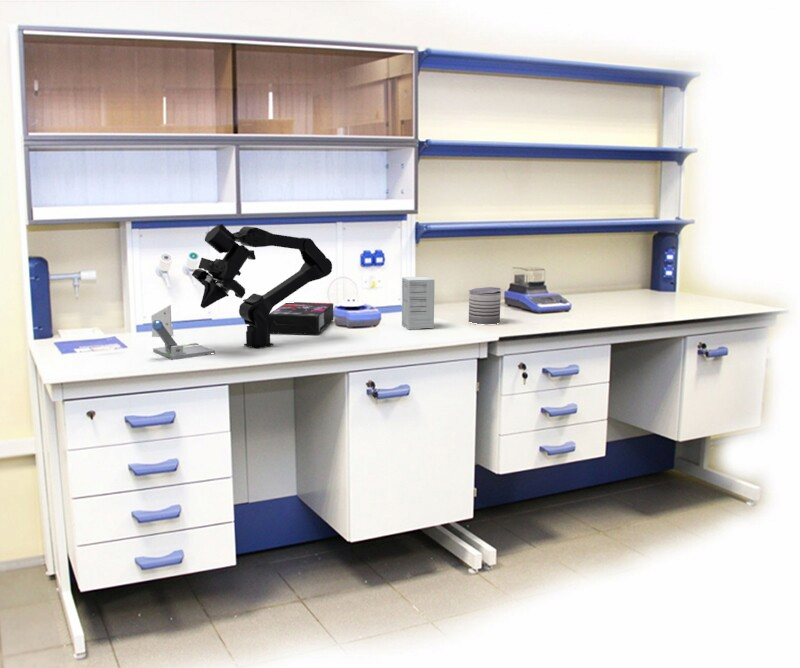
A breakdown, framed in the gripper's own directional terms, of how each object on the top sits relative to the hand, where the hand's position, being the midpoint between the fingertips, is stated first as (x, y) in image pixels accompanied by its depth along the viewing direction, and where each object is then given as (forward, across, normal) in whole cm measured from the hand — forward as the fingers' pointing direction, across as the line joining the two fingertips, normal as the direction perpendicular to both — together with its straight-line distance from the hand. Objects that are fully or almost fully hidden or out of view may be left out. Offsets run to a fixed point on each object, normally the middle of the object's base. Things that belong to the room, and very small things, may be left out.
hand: (202, 307), depth 241 cm
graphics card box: (-15, -2, +35) cm, 38 cm away
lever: (+14, -1, +1) cm, 14 cm away
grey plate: (+9, -30, +16) cm, 35 cm away
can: (-55, +28, +83) cm, 104 cm away
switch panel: (+13, -3, +6) cm, 15 cm away
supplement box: (-39, +18, +66) cm, 78 cm away
